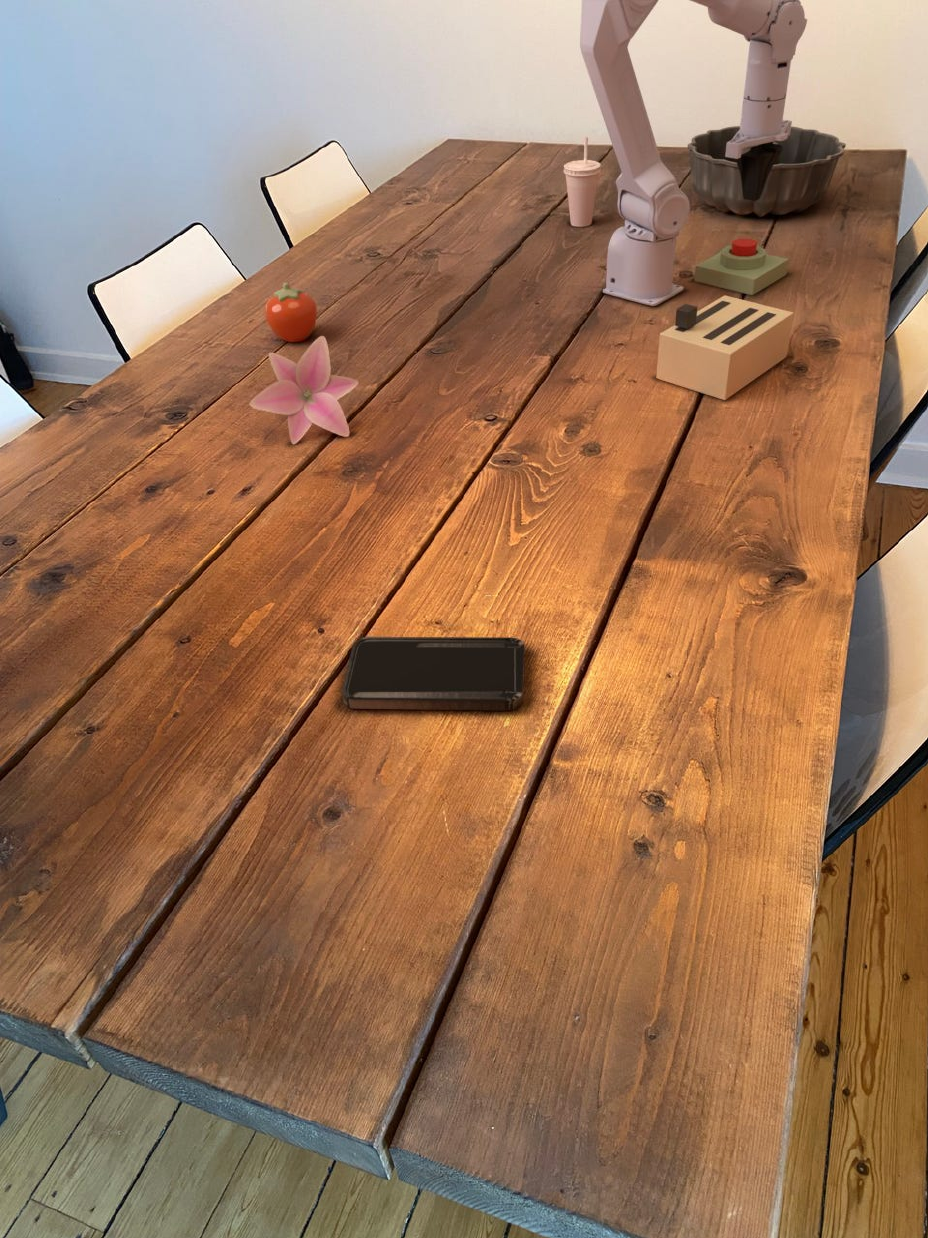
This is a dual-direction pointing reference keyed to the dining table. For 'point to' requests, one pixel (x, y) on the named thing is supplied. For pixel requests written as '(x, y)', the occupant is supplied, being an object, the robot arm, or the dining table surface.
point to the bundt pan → (789, 182)
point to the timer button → (744, 247)
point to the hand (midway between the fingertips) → (751, 198)
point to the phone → (435, 673)
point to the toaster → (724, 347)
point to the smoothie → (582, 188)
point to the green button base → (741, 270)
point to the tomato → (291, 314)
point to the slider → (686, 316)
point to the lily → (306, 392)
